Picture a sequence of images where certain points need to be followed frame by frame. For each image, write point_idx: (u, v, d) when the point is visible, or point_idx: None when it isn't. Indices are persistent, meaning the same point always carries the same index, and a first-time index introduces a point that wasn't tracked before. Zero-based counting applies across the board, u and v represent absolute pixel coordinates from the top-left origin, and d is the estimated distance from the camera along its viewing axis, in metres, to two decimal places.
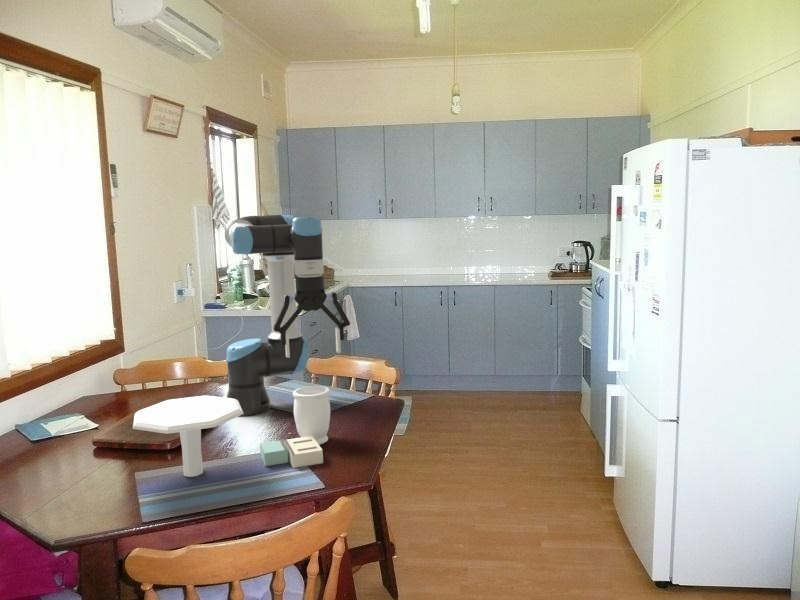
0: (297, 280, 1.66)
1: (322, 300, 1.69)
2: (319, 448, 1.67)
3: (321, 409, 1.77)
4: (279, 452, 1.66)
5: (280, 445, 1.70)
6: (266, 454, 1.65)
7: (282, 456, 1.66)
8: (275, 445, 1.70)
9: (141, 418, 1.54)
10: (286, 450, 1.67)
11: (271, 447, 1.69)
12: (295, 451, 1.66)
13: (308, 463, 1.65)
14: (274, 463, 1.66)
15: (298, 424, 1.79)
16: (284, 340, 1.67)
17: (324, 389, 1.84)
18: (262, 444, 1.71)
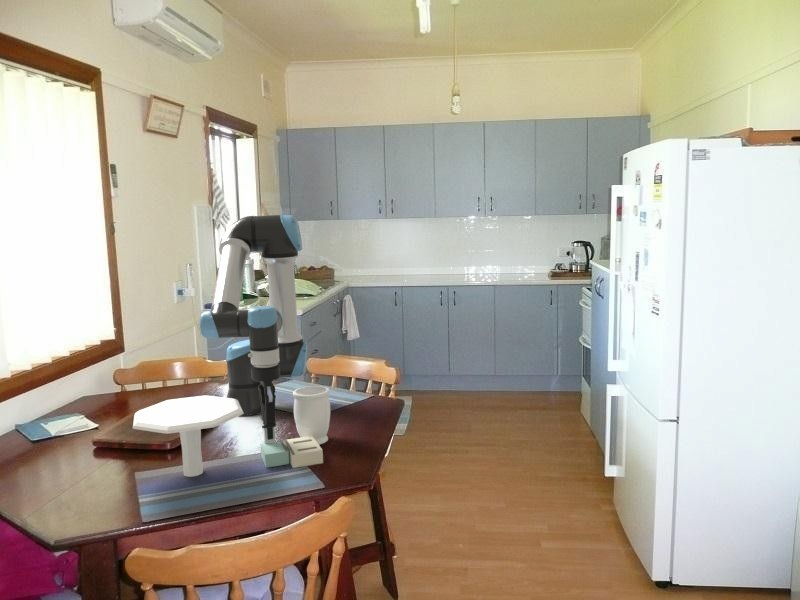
0: None
1: (264, 392, 1.68)
2: (319, 448, 1.67)
3: (321, 409, 1.77)
4: (280, 454, 1.65)
5: (281, 446, 1.69)
6: (267, 455, 1.64)
7: (283, 457, 1.65)
8: (276, 446, 1.69)
9: (141, 418, 1.54)
10: (287, 451, 1.66)
11: (272, 448, 1.68)
12: (295, 451, 1.66)
13: (308, 463, 1.65)
14: (275, 465, 1.65)
15: (298, 424, 1.79)
16: None
17: (324, 389, 1.84)
18: (263, 445, 1.70)
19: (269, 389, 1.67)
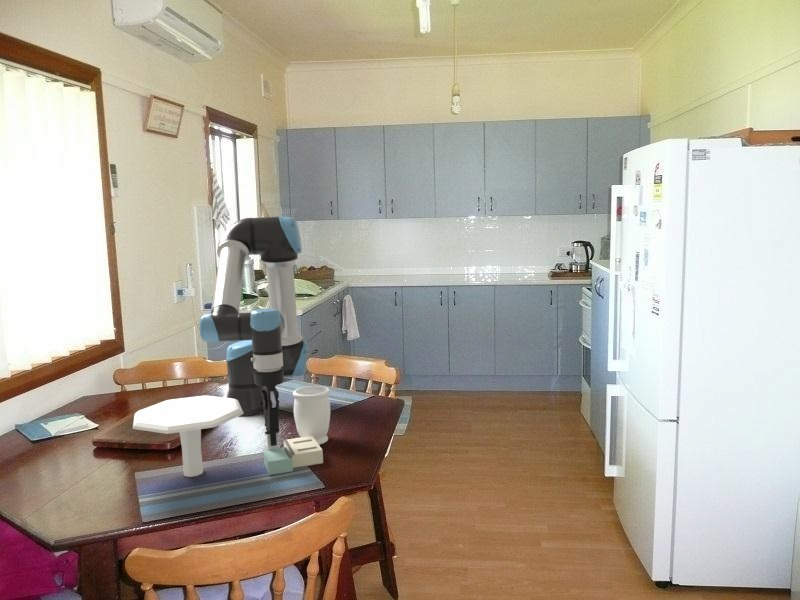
0: None
1: (267, 397, 1.63)
2: (319, 448, 1.67)
3: (321, 409, 1.77)
4: (284, 461, 1.60)
5: (284, 453, 1.64)
6: (270, 463, 1.59)
7: (287, 464, 1.61)
8: (280, 453, 1.64)
9: (141, 418, 1.54)
10: (291, 458, 1.61)
11: (275, 455, 1.63)
12: (295, 451, 1.66)
13: (308, 463, 1.65)
14: (278, 472, 1.60)
15: (298, 424, 1.79)
16: None
17: (324, 389, 1.84)
18: (266, 452, 1.65)
19: (272, 394, 1.62)
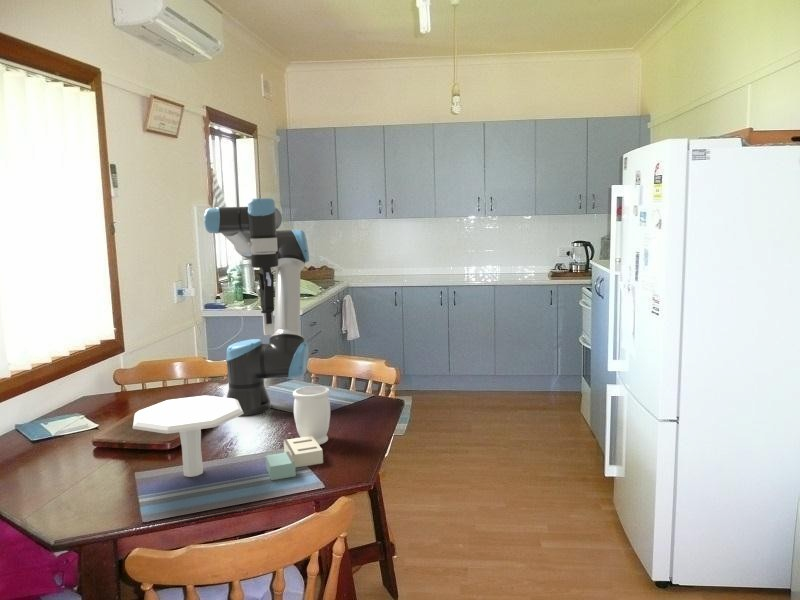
0: None
1: (263, 277, 1.79)
2: (319, 448, 1.67)
3: (321, 409, 1.77)
4: (286, 466, 1.57)
5: (287, 458, 1.61)
6: (272, 467, 1.56)
7: (289, 469, 1.57)
8: (282, 458, 1.61)
9: (141, 418, 1.54)
10: (293, 463, 1.58)
11: (277, 459, 1.60)
12: (295, 451, 1.66)
13: (308, 463, 1.65)
14: (281, 477, 1.57)
15: (298, 424, 1.79)
16: None
17: (324, 389, 1.84)
18: (268, 456, 1.62)
19: (268, 274, 1.79)
